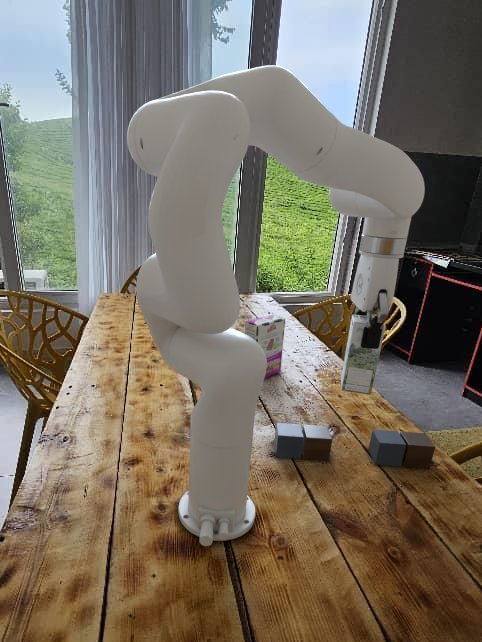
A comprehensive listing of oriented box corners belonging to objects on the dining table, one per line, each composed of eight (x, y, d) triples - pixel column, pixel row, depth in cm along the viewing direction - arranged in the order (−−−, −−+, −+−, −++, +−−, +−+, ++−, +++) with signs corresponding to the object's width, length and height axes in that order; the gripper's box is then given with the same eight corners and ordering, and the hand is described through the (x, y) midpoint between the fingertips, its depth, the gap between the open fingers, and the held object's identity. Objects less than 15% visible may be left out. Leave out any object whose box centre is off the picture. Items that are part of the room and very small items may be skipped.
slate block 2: (401, 466, 87) (406, 444, 85) (375, 464, 87) (379, 442, 86) (392, 451, 92) (397, 431, 90) (368, 450, 92) (372, 429, 90)
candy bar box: (267, 367, 131) (273, 313, 125) (280, 372, 128) (286, 318, 122) (240, 376, 125) (245, 320, 118) (253, 382, 121) (258, 325, 115)
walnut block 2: (429, 468, 87) (435, 446, 85) (403, 466, 87) (408, 444, 85) (420, 454, 91) (425, 433, 90) (395, 452, 92) (400, 431, 90)
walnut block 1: (328, 460, 88) (332, 439, 86) (303, 459, 88) (306, 437, 86) (324, 446, 93) (327, 426, 91) (300, 445, 93) (303, 424, 91)
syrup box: (368, 384, 91) (382, 316, 86) (371, 396, 86) (386, 324, 81) (340, 380, 92) (352, 312, 87) (340, 391, 87) (353, 320, 82)
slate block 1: (300, 458, 88) (303, 437, 86) (275, 456, 89) (278, 435, 87) (297, 444, 93) (300, 424, 91) (273, 443, 93) (276, 422, 91)
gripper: (349, 240, 87) (334, 327, 94) (375, 252, 71) (355, 356, 78) (387, 242, 87) (370, 329, 93) (422, 255, 71) (399, 359, 77)
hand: (364, 340), depth 85 cm, fingers closed on syrup box, 6 cm apart
